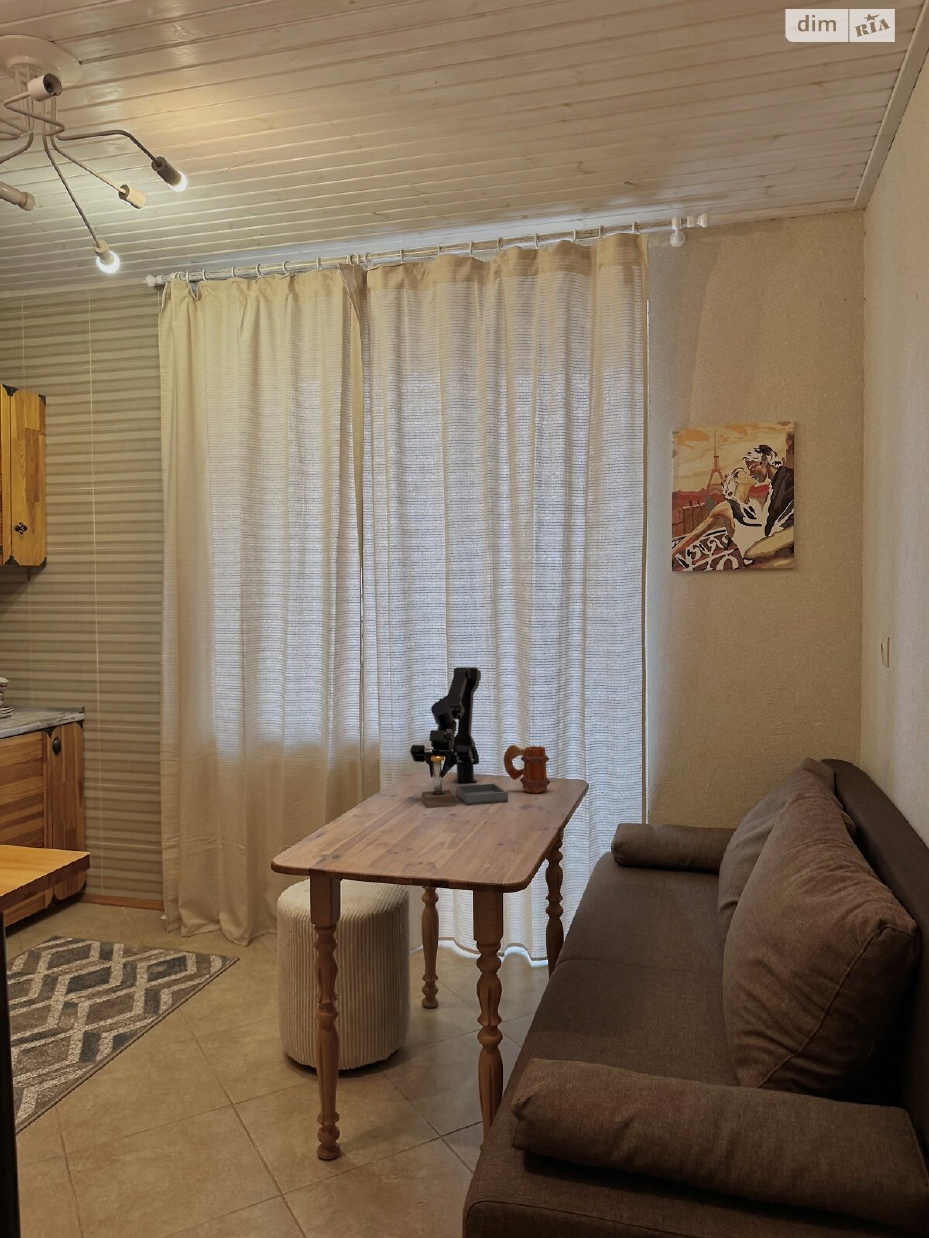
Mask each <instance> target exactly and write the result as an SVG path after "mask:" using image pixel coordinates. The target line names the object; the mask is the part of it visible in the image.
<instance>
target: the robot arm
mask: <svg viewBox="0 0 929 1238" xmlns="http://www.w3.org/2000/svg"><path fill="white" fill-rule="evenodd" d="M452 677H453V678H452V680H451V684H450V687H449V689H448V693H447V695H445V696H444V697H442V698H439V700H438V701H436V702H434V703H433V704H432V705H431V707H430V711H431V713H432V717H433V718H434V722H435V724H436V725H437V729H431V730H430V731H429V742H430V746H431V747H425V744H413V745H411V746H410V748H409V749H410V750H409V752H410V755H411V758H412V760H413V761H414V762H415V763H424V762H425V763H426V765H428V767H429V768H428V769H429V774H430V778H434V761H431V756H432V755H444V760H443V765H442V772H441V778H442V779H443V778H444V777H445V776H446V775H447V774H448V772H449V771H451V769H452V768H453V767H454V766H456V778H454V779H453V780H454V781H455V782H456V783H457V784H471V783H477V782H478V781H477V779H475V777H474V776H475V774H474V772H475V771H474V765H479V764H480V758H479V757H480V756H479V755H480V754H479V753H478V750H477V746H476V742H475V740H474V738H473V735H472V728H473V727H472V723H473V708H474V696H475V692H476V691H477V689H478V688H479V686H480V681H481V679H482V672H481V670H480V669H478V667H477V666H475V667H473V666H471V667H470V666H467V667H466V666H465V667H464V666H461V667H459V666H457V667H454V668H453V676H452ZM456 720H457V721H458V723H457V721H456ZM457 724H458V725H457ZM456 732H457V733H456Z"/></svg>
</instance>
